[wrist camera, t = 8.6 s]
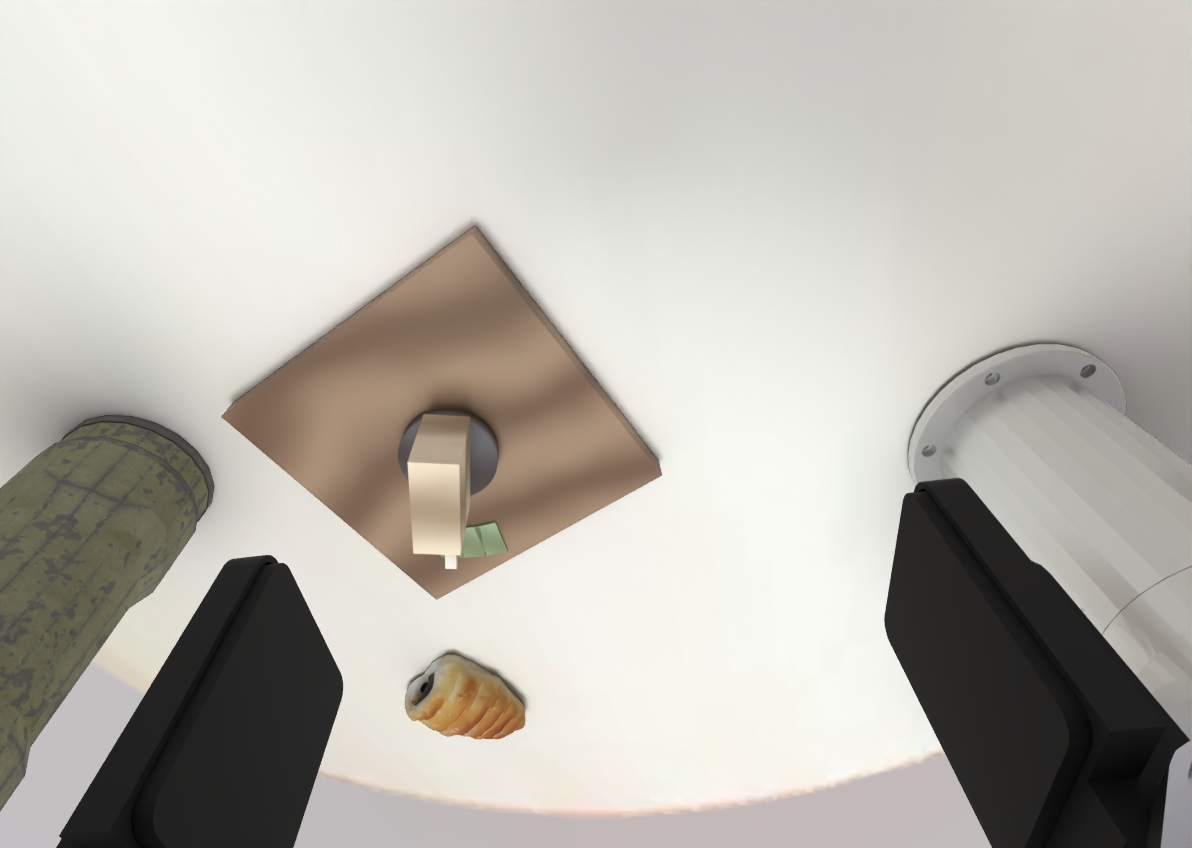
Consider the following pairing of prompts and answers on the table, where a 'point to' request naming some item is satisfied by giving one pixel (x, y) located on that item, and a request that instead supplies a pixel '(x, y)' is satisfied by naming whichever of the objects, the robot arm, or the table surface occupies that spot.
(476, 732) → the pastry
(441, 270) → the wooden board
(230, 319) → the table surface
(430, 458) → the knob
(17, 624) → the thermos
